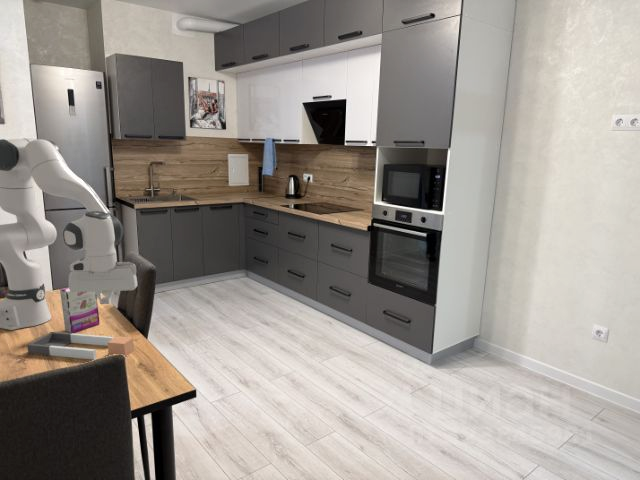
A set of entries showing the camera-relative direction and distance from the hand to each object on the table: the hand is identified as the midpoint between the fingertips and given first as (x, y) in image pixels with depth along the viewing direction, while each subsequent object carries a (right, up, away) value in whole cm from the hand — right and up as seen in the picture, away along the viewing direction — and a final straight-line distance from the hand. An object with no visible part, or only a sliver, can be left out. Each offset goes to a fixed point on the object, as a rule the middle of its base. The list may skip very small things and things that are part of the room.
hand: (105, 303), depth 146 cm
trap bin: (-22, -16, +7) cm, 28 cm away
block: (+4, -17, +3) cm, 18 cm away
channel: (-10, -16, +5) cm, 20 cm away
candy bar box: (-20, -13, +24) cm, 33 cm away
